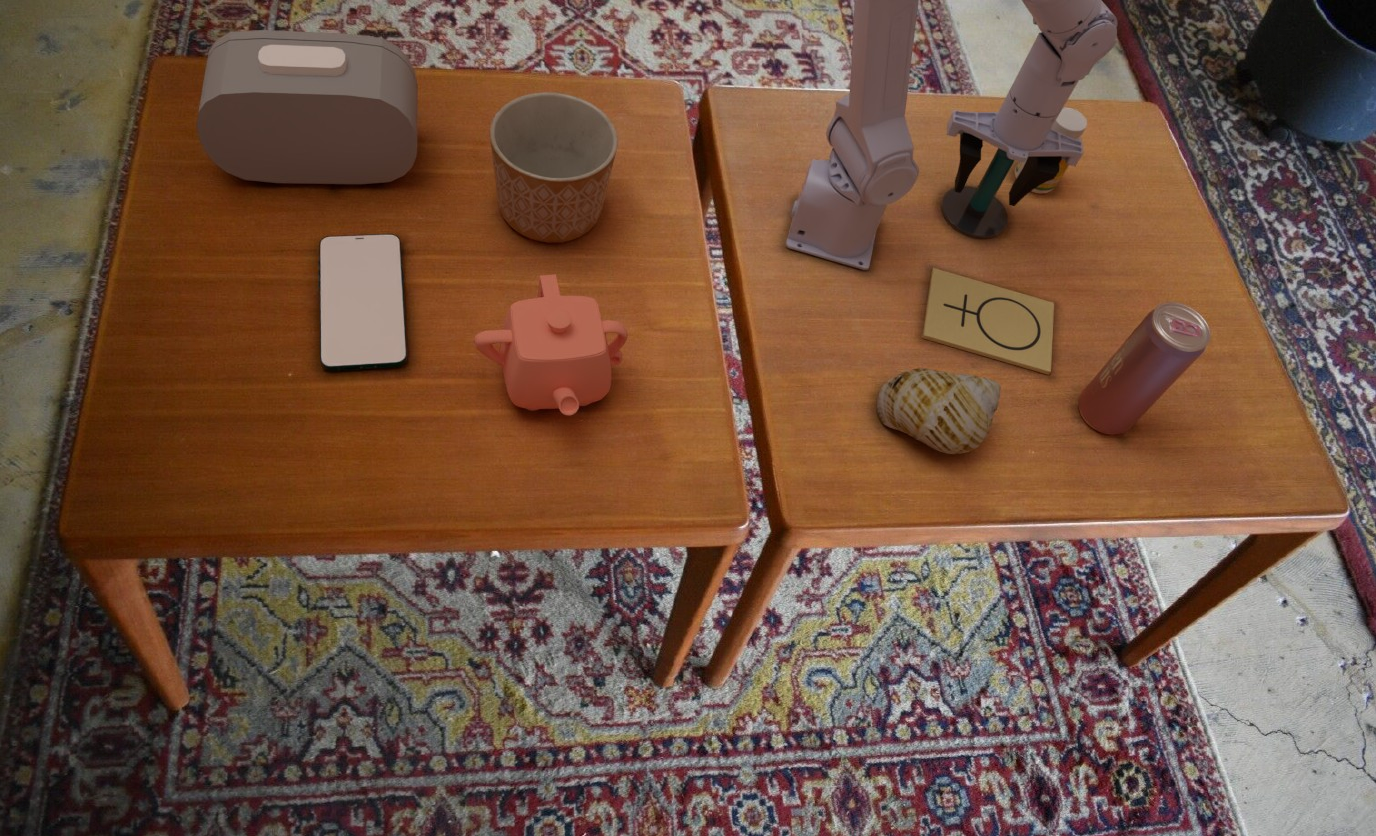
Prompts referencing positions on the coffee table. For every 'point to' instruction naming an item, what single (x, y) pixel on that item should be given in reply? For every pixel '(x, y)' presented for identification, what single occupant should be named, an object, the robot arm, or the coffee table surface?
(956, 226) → the coaster
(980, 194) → the dark green cylinder
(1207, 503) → the coffee table surface
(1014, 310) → the sign with female symbol
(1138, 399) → the beverage can
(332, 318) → the smartphone
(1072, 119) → the supplement bottle
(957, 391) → the seashell
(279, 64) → the alarm clock
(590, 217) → the planter
